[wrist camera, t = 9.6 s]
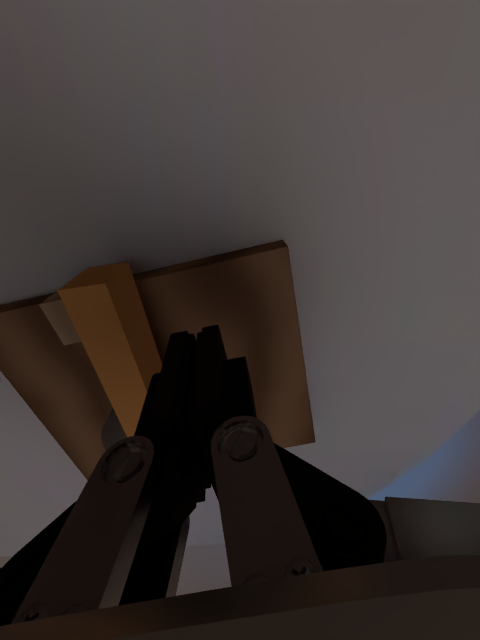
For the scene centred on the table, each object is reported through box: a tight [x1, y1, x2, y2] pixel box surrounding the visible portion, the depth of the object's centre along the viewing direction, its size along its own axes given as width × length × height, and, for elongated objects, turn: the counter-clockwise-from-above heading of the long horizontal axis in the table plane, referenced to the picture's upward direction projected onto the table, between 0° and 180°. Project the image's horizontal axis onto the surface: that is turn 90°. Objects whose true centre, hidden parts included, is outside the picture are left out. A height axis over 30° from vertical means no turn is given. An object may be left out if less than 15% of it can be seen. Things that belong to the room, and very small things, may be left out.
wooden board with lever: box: [0, 240, 315, 480], centre depth 24 cm, size 24×21×5 cm
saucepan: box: [57, 262, 162, 451], centre depth 19 cm, size 16×7×4 cm, turn 8°
